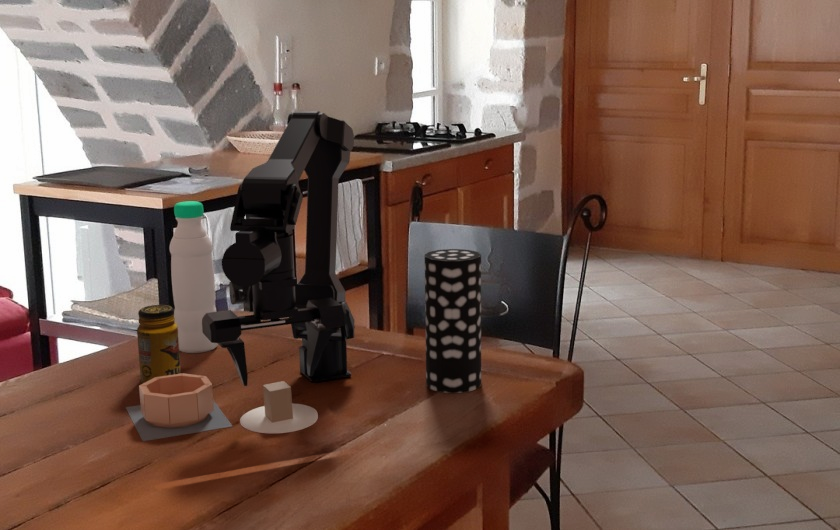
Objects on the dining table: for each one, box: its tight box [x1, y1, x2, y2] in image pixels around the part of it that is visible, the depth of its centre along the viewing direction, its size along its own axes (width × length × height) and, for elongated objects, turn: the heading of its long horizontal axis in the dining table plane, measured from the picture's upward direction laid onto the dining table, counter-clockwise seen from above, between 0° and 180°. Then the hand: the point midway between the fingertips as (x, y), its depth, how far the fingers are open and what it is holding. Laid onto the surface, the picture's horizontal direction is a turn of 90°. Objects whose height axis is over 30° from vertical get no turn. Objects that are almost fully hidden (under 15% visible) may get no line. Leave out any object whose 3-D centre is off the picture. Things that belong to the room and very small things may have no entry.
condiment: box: [136, 304, 181, 384], centre depth 163 cm, size 7×8×12 cm
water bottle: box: [169, 200, 219, 354], centre depth 179 cm, size 7×7×25 cm
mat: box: [125, 400, 234, 442], centre depth 149 cm, size 12×14×1 cm
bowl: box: [138, 372, 214, 428], centre depth 148 cm, size 9×9×5 cm
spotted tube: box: [424, 248, 482, 394], centre depth 160 cm, size 8×8×20 cm
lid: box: [239, 380, 319, 434], centre depth 147 cm, size 11×11×6 cm
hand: (277, 380), depth 146 cm, fingers open, 9 cm apart
